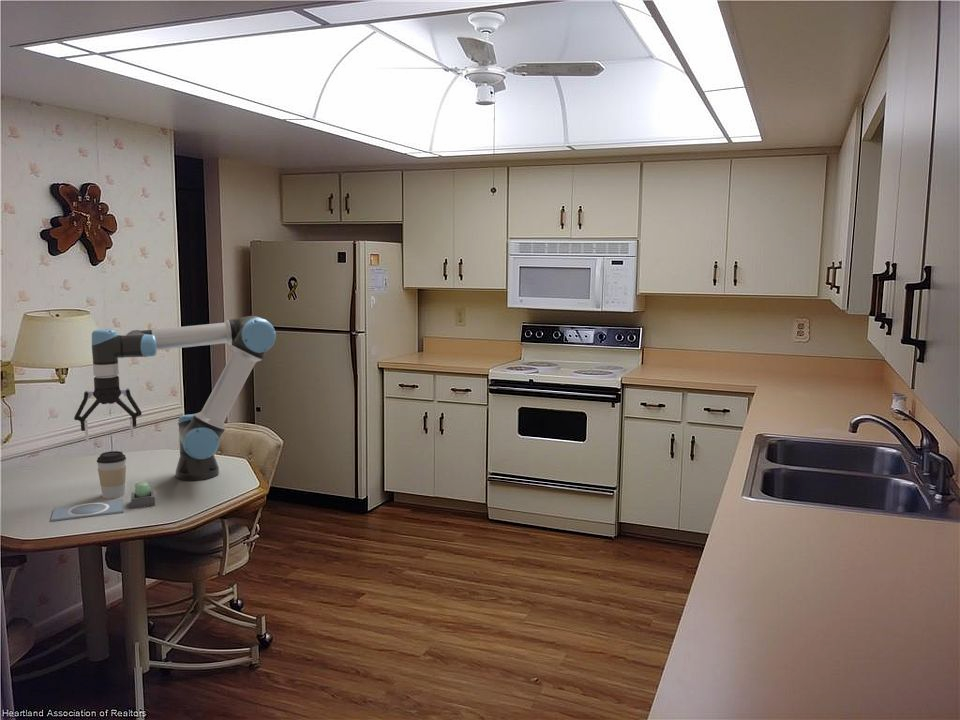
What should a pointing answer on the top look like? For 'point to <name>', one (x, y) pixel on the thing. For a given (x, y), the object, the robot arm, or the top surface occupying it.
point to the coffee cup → (112, 474)
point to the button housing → (142, 500)
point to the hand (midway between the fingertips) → (109, 438)
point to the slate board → (87, 510)
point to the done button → (142, 489)
